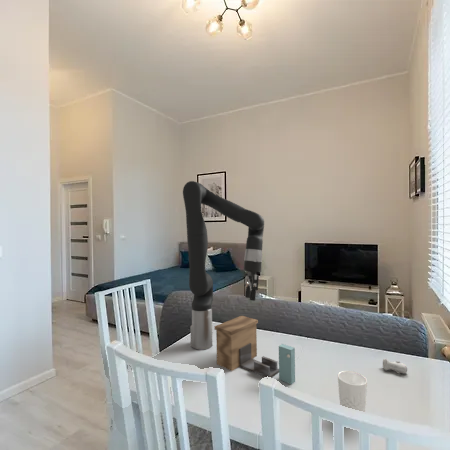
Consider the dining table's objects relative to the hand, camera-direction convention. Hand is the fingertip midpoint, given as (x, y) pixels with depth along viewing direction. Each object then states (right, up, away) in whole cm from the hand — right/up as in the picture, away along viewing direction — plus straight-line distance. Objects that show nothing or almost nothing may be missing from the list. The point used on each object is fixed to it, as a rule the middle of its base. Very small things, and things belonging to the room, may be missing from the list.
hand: (249, 298), depth 120 cm
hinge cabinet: (0, -24, -8) cm, 25 cm away
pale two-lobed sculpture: (+53, -24, -13) cm, 60 cm away
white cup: (+27, -24, -36) cm, 51 cm away
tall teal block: (+12, -24, -19) cm, 33 cm away
